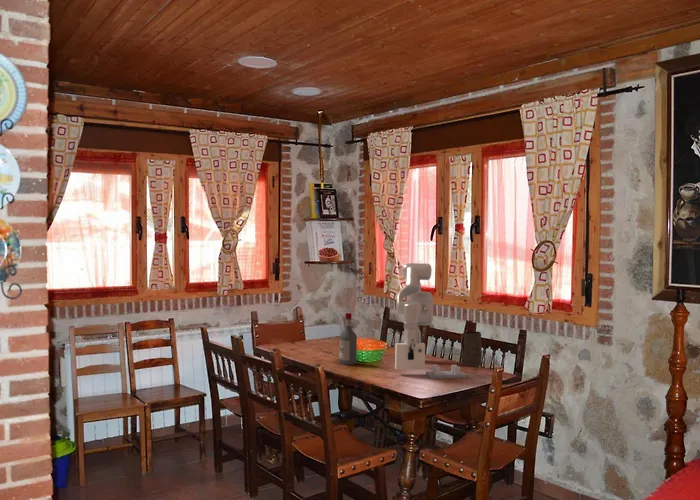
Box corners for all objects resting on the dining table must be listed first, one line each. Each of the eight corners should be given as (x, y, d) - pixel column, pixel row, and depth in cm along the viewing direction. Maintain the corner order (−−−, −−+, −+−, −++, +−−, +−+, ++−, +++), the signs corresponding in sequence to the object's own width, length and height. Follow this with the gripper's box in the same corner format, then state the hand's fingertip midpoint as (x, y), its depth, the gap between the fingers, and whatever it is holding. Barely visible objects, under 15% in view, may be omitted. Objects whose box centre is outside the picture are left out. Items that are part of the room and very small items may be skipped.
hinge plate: (425, 374, 334) (425, 364, 334) (460, 373, 336) (460, 363, 336) (430, 378, 324) (430, 368, 324) (466, 377, 326) (466, 367, 326)
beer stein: (486, 365, 361) (485, 331, 362) (475, 367, 354) (473, 333, 355) (465, 362, 373) (464, 330, 374) (454, 364, 366) (453, 331, 366)
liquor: (346, 365, 353) (347, 314, 353) (337, 363, 360) (337, 312, 360) (358, 363, 359) (359, 313, 359) (348, 361, 366) (349, 311, 366)
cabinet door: (395, 368, 333) (395, 343, 333) (423, 367, 336) (423, 342, 335) (396, 370, 329) (397, 344, 329) (425, 369, 331) (425, 344, 331)
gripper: (400, 323, 340) (400, 355, 340) (407, 328, 323) (406, 362, 324) (413, 323, 341) (413, 355, 341) (421, 328, 325) (420, 362, 325)
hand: (410, 358), depth 333 cm, fingers closed on cabinet door, 3 cm apart
